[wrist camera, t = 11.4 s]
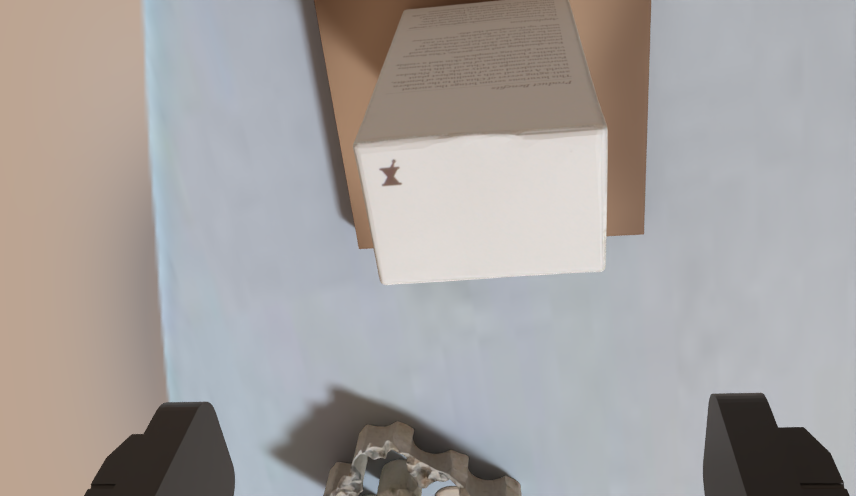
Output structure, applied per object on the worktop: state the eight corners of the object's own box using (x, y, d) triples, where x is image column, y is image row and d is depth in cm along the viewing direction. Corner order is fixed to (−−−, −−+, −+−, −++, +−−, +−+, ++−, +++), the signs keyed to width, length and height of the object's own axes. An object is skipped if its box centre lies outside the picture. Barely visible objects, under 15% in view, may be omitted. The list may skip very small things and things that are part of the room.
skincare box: (416, 117, 31) (372, 290, 21) (402, 6, 29) (344, 139, 19) (574, 104, 30) (609, 278, 20) (572, -10, 28) (609, 119, 18)
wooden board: (651, -212, 26) (657, -211, 25) (639, 220, 34) (643, 234, 33) (292, -168, 27) (284, -165, 26) (363, 234, 35) (359, 248, 34)
